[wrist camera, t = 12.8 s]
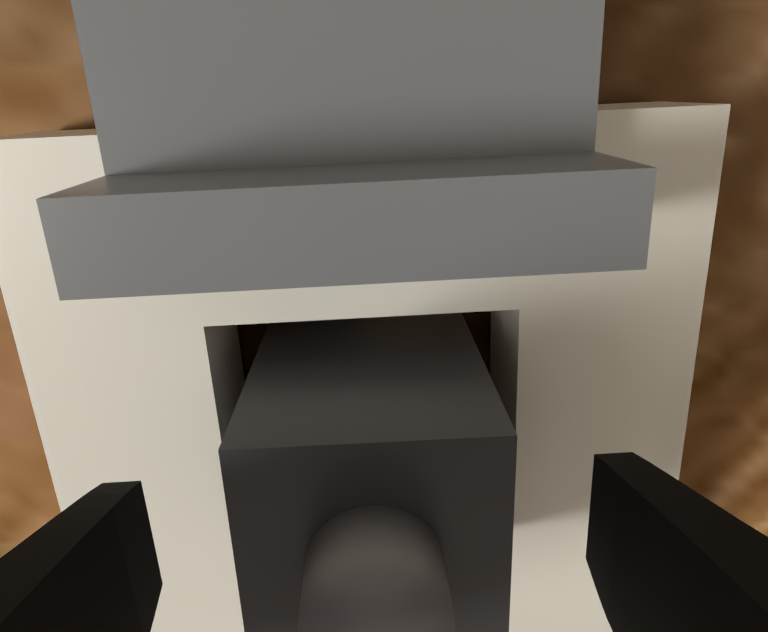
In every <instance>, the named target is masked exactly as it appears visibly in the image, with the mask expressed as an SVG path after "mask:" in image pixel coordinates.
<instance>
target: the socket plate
mask: <svg viewBox="0 0 768 632" xmlns="http://www.w3.org/2000/svg"><path fill="white" fill-rule="evenodd" d="M730 107H731V104H717V103H691V102H665V101H655V102H635V103H614V104H598V110H597V125H596V139H595V151H596V152H599V153H603V154H607V155H611V156H615V157H618V158H622V159H626V160H630V161H634V162H637V163H641V164H645V165H649V166H653V167H657V171H656V180H655V190H654V200H653V209H652V219H651V229H650V238H649V248H648V258H647V267H646V269H644V270H625V271H606V272H588V273H569V274H550V275H531V276H513V277H494V278H475V279H456V280H438V281H419V282H400V283H381V284H363V285H344V286H325V287H306V288H288V289H269V290H250V291H231V292H213V293H194V294H175V295H156V296H138V297H119V298H100V299H81V300H63V301H60V299H59V295H58V291H57V287H56V282H55V278H54V274H53V270H52V265H51V261H50V257H49V253H48V248H47V244H46V240H45V236H44V231H43V227H42V223H41V219H40V214H39V210H38V206H37V202H36V199H37V198H40V197H43V196H46V195H49V194H52V193H55V192H58V191H61V190H64V189H67V188H70V187H73V186H76V185H79V184H82V183H85V182H88V181H91V180H94V179H97V178H100V177H103V176H105V173H104V168H103V163H102V158H101V153H100V148H99V143H98V137H97V132H96V129H79V130H58V131H39V132H31V133H24V134H16V135H8V136H1V137H0V286H1V290H2V294H3V298H4V301H5V305H6V309H7V313H8V316H9V320H10V324H11V327H12V331H13V335H14V339H15V342H16V346H17V350H18V354H19V357H20V361H21V365H22V368H23V372H24V376H25V380H26V383H27V387H28V391H29V395H30V398H31V402H32V406H33V410H34V413H35V417H36V421H37V424H38V428H39V432H40V436H41V439H42V443H43V447H44V451H45V454H46V458H47V462H48V465H49V469H50V473H51V477H52V480H53V484H54V488H55V492H56V495H57V499H58V503H59V506H60V510H61V512H62V511H63V510H65V509H66V508H67V507H69V506H70V505H71V504H73V503H74V502H75V501H77V500H78V499H80V498H81V497H82V496H84V495H85V494H87V493H88V492H89V491H91V490H92V489H94V488H95V487H97V486H98V485H100V484H101V483H110V482H127V481H141V483H142V488H143V493H144V497H145V502H146V507H147V512H148V516H149V521H150V526H151V531H152V535H153V540H154V545H155V550H156V554H157V559H158V564H159V569H160V573H161V578H162V583H163V585H162V589H161V593H160V597H159V601H158V605H157V609H156V613H155V617H154V620H153V624H152V628H151V631H150V632H244V625H243V618H242V611H241V604H240V597H239V590H238V584H237V577H236V570H235V563H234V556H233V549H232V542H231V535H230V529H229V522H228V515H227V508H226V501H225V494H224V487H223V480H222V474H221V467H220V460H219V453H218V449H219V447H220V444H221V442H222V439H223V437H224V434H225V432H226V429H227V427H228V424H229V422H230V419H231V417H232V414H233V412H234V409H235V407H236V404H237V401H238V399H239V396H240V394H241V391H242V389H243V386H244V384H245V379H244V372H243V365H242V357H241V350H240V342H239V335H238V327H237V325H242V324H260V323H279V322H297V321H316V320H334V319H352V318H371V317H389V316H408V315H426V314H445V313H463V312H481V311H491V333H490V376H491V379H492V381H493V383H494V385H495V387H496V390H497V392H498V394H499V396H500V398H501V401H502V403H503V405H504V407H505V409H506V412H507V414H508V416H509V418H510V420H511V423H512V425H513V427H514V429H515V431H516V434H517V457H516V480H515V503H514V526H513V549H512V571H511V594H510V617H509V632H613V631H612V629H611V627H610V624H609V622H608V620H607V618H606V615H605V613H604V610H603V607H602V604H601V602H600V599H599V596H598V593H597V590H596V587H595V584H594V581H593V579H592V576H591V573H590V570H589V567H588V564H587V561H586V547H587V535H588V522H589V510H590V498H591V486H592V474H593V462H594V454H605V453H622V452H633V453H635V454H637V455H638V456H640V457H642V458H644V459H645V460H647V461H649V462H650V463H652V464H654V465H655V466H657V467H658V468H660V469H661V470H663V471H665V472H666V473H668V474H669V475H671V476H672V477H674V478H675V479H677V480H679V475H680V468H681V461H682V454H683V446H684V439H685V432H686V425H687V418H688V410H689V403H690V396H691V389H692V381H693V374H694V367H695V360H696V353H697V345H698V338H699V331H700V324H701V316H702V309H703V302H704V295H705V288H706V280H707V273H708V266H709V259H710V251H711V244H712V237H713V230H714V222H715V215H716V208H717V201H718V194H719V186H720V179H721V172H722V165H723V157H724V150H725V143H726V136H727V129H728V121H729V114H730Z"/></svg>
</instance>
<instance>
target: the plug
mask: <svg viewBox="0 0 768 632" xmlns="http://www.w3.org/2000/svg"><path fill="white" fill-rule="evenodd" d="M218 453H219V460H220V467H221V474H222V480H223V487H224V494H225V501H226V508H227V515H228V522H229V529H230V535H231V542H232V549H233V556H234V563H235V570H236V577H237V584H238V590H239V597H240V604H241V611H242V618H243V625H244V632H509V617H510V594H511V571H512V549H513V526H514V503H515V480H516V457H517V434H516V431H515V429H514V427H513V425H512V423H511V420H510V418H509V416H508V414H507V412H506V409H505V407H504V405H503V403H502V401H501V398H500V396H499V394H498V392H497V390H496V387H495V385H494V383H493V381H492V379H491V376H490V374H489V372H488V370H487V368H486V365H485V363H484V361H483V359H482V357H481V354H480V352H479V350H478V348H477V346H476V343H475V341H474V339H473V337H472V335H471V332H470V330H469V328H468V326H467V324H466V321H465V319H464V317H463V315H462V313H445V314H426V315H408V316H389V317H371V318H352V319H334V320H316V321H297V322H279V323H268V326H267V328H266V331H265V333H264V336H263V338H262V341H261V343H260V346H259V349H258V351H257V354H256V356H255V359H254V361H253V364H252V366H251V369H250V371H249V374H248V376H247V379H246V381H245V384H244V386H243V389H242V391H241V394H240V396H239V399H238V401H237V404H236V407H235V409H234V412H233V414H232V417H231V419H230V422H229V424H228V427H227V429H226V432H225V434H224V437H223V439H222V442H221V444H220V447H219V449H218Z"/></svg>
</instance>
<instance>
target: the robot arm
mask: <svg viewBox="0 0 768 632" xmlns="http://www.w3.org/2000/svg"><path fill="white" fill-rule="evenodd" d="M586 561H587V564H588V567H589V570H590V573H591V576H592V579H593V581H594V584H595V587H596V590H597V593H598V596H599V599H600V602H601V604H602V607H603V610H604V613H605V615H606V618H607V620H608V622H609V624H610V627H611V629H612V631H613V632H768V537H767V536H765V535H764V534H762V533H760V532H759V531H757V530H755V529H754V528H752V527H751V526H749V525H747V524H746V523H744V522H742V521H741V520H739V519H738V518H736V517H735V516H733V515H731V514H730V513H728V512H727V511H725V510H723V509H722V508H720V507H719V506H717V505H716V504H714V503H712V502H711V501H709V500H708V499H706V498H705V497H703V496H702V495H700V494H699V493H697V492H695V491H694V490H692V489H691V488H689V487H688V486H686V485H685V484H683V483H682V482H680V481H679V480H677V479H675V478H674V477H672V476H671V475H669V474H668V473H666V472H665V471H663V470H661V469H660V468H658V467H657V466H655V465H654V464H652V463H650V462H649V461H647V460H645V459H644V458H642V457H640V456H638V455H637V454H635V453H633V452H622V453H605V454H594V462H593V474H592V486H591V498H590V510H589V522H588V535H587V547H586ZM162 585H163V583H162V578H161V573H160V569H159V564H158V559H157V554H156V550H155V545H154V540H153V535H152V531H151V526H150V521H149V516H148V512H147V507H146V502H145V497H144V493H143V488H142V483H141V481H127V482H110V483H101V484H100V485H98V486H97V487H95V488H94V489H92V490H91V491H89V492H88V493H87V494H85V495H84V496H82V497H81V498H80V499H78V500H77V501H75V502H74V503H73V504H71V505H70V506H69V507H67V508H66V509H65V510H63V511H62V512H61V513H60V514H58V515H57V516H56V517H54V518H53V519H52V520H50V521H49V522H48V523H46V524H45V525H44V526H42V527H41V528H40V529H39V530H37V531H36V532H35V533H33V534H32V535H31V536H29V537H28V538H27V539H25V540H24V541H23V542H21V543H20V544H19V545H17V546H16V547H15V548H13V549H12V550H11V551H9V552H8V553H7V554H5V555H4V556H3V557H1V558H0V632H150V631H151V628H152V624H153V620H154V617H155V613H156V609H157V605H158V601H159V597H160V593H161V589H162Z"/></svg>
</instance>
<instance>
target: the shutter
mask: <svg viewBox="0 0 768 632" xmlns="http://www.w3.org/2000/svg"><path fill="white" fill-rule="evenodd" d="M71 4H72V9H73V15H74V20H75V25H76V30H77V35H78V40H79V45H80V50H81V56H82V61H83V66H84V71H85V76H86V81H87V86H88V91H89V96H90V102H91V107H92V112H93V117H94V122H95V127H96V132H97V137H98V143H99V148H100V153H101V158H102V163H103V168H104V173H105V176H103V177H100V178H97V179H94V180H91V181H88V182H85V183H82V184H79V185H76V186H73V187H70V188H67V189H64V190H61V191H58V192H55V193H52V194H49V195H46V196H43V197H40V198H37V199H36V202H37V206H38V210H39V214H40V219H41V223H42V227H43V231H44V236H45V240H46V244H47V248H48V253H49V257H50V261H51V265H52V270H53V274H54V278H55V282H56V287H57V291H58V295H59V299H60V301H63V300H81V299H100V298H119V297H138V296H156V295H175V294H194V293H213V292H231V291H250V290H269V289H288V288H306V287H325V286H344V285H363V284H381V283H400V282H419V281H438V280H456V279H475V278H494V277H513V276H531V275H550V274H569V273H588V272H606V271H625V270H644V269H646V267H647V258H648V248H649V238H650V229H651V219H652V209H653V200H654V190H655V180H656V171H657V167H653V166H649V165H645V164H641V163H637V162H634V161H630V160H626V159H622V158H618V157H615V156H611V155H607V154H603V153H599V152H596V151H595V139H596V125H597V110H598V96H599V82H600V67H601V53H602V38H603V24H604V9H605V0H71Z"/></svg>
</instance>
